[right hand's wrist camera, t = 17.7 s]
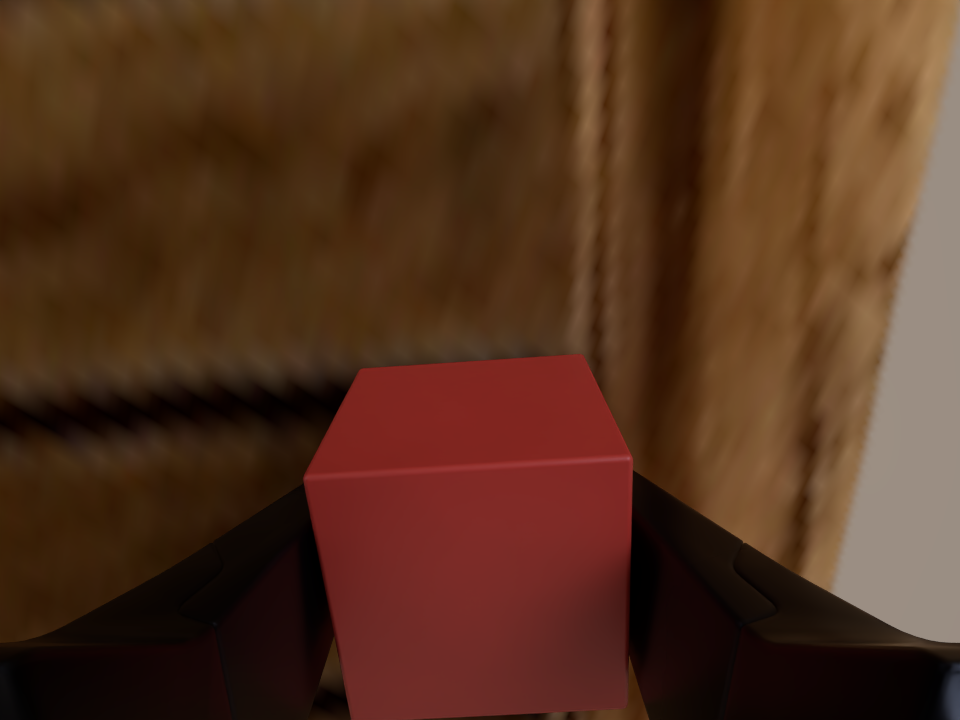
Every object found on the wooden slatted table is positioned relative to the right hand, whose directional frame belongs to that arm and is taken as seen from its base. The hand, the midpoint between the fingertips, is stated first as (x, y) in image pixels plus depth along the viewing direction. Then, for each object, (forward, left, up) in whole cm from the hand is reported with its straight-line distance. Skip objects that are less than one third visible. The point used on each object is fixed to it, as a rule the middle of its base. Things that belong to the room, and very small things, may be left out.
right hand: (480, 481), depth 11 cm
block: (0, 0, -1) cm, 1 cm away
